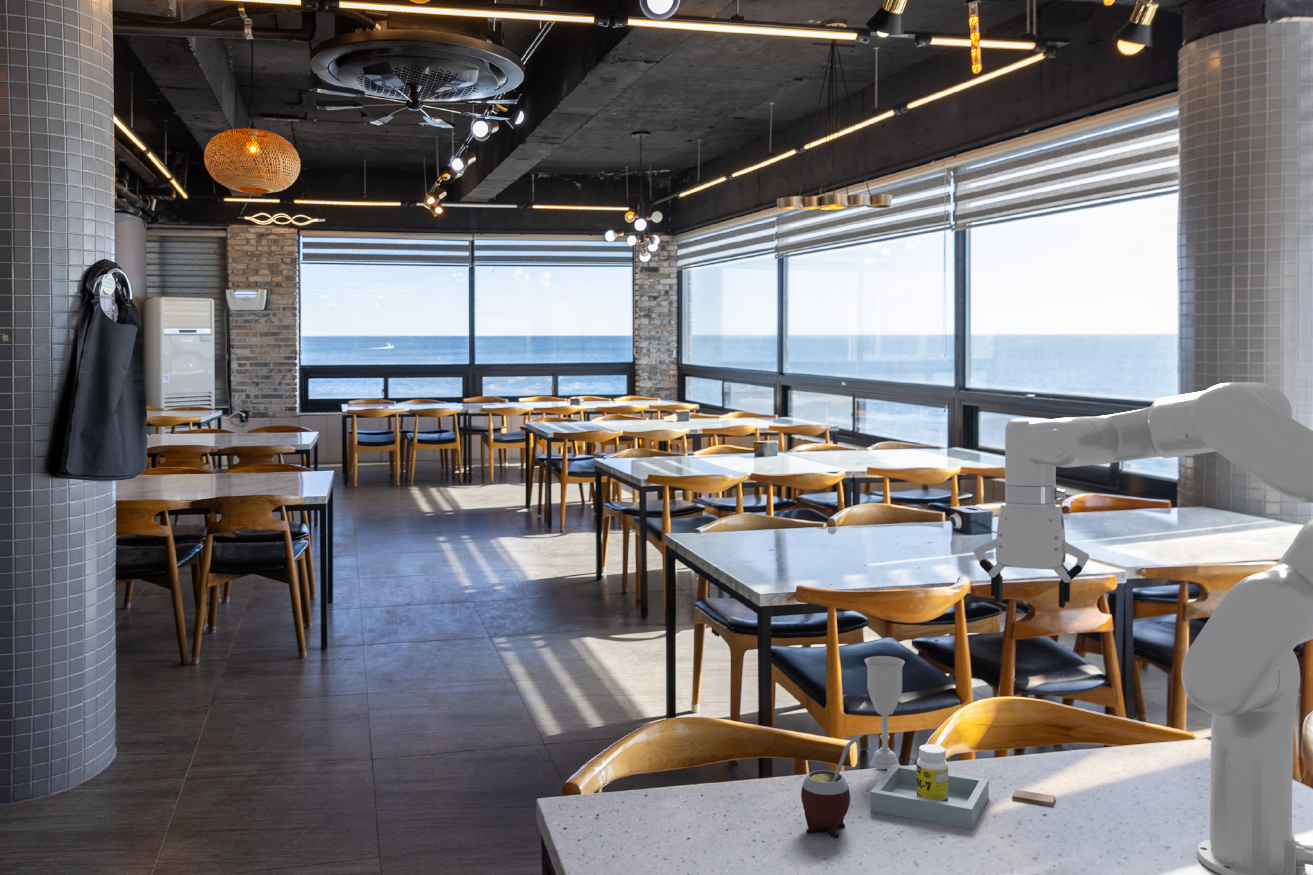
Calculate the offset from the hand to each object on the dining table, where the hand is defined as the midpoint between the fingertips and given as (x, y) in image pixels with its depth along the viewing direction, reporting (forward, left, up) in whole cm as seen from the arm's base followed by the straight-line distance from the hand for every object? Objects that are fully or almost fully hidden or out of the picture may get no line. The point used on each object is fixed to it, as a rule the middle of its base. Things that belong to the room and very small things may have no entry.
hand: (1030, 603), depth 163 cm
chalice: (+24, -2, -31) cm, 39 cm away
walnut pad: (-1, +3, -30) cm, 30 cm away
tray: (+13, +12, -30) cm, 35 cm away
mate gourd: (+24, +28, -31) cm, 48 cm away
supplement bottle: (+13, +12, -30) cm, 35 cm away
